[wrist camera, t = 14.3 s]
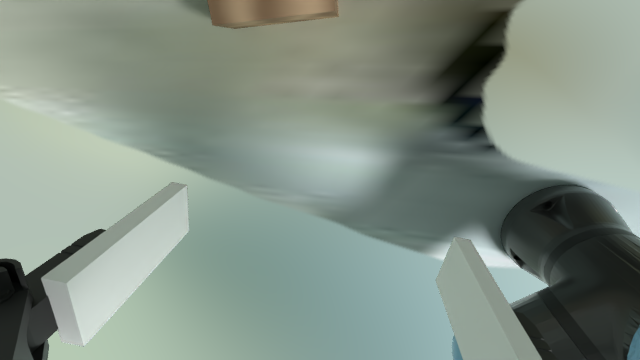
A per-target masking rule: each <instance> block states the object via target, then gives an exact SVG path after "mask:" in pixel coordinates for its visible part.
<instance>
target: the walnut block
mask: <svg viewBox="0 0 640 360" xmlns="http://www.w3.org/2000/svg"><path fill="white" fill-rule="evenodd" d="M207 1H208V6H209V10H210V15H211V20H212V25H214V26H220V27H227V28H233V29H237V28H245V27H254V26H263V25H271V24H280V23H289V22H298V21H306V20H315V19H324V18H332V17H339V14H338V0H207Z"/></svg>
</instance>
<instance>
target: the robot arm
mask: <svg viewBox="0 0 640 360" xmlns="http://www.w3.org/2000/svg"><path fill="white" fill-rule="evenodd" d="M188 232H189V218H188V192H187V185H184V184H179V183H174V182H172V183H171V184H169V185H168V186H166V187H165V188H164V189H162V190H161V191H159V192H158V193H157V194H155V195H154V196H153V197H151V198H150V199H148V200H147V201H146V202H144V203H143V204H142V205H140V206H139V207H137V208H136V209H135V210H133V211H132V212H131V213H129V214H128V215H126V216H125V217H124V218H122V219H121V220H120V221H118V222H117V223H115V224H114V225H113V226H111V227H110V228H109V229H107V230H103V229H99V230H96V231H94V232H91V233H89V234H86V235H84V236H83V237H81V238H80V239H78V240H77V241H75V242H74V243H73V244H72V245H71V246H68V247H67V248H66V249H64V250H62V251H61V253H58V254H57V255H55V256H54V257H52V258H51V259H49V260H48V261H46V262H45V263H44V264H42V265H41V266H39V267H38V268H36V269H35V270H33V271H32V272H30V273H29V274H28V275H26V276H25V274H24V272H23V269H22V266H21V263H20V262H18V261H17V260H13V259H0V360H47V358H48V350H49V344H48V340H47V339H48V338H49V337H50V336H51V335H52V334H53V333H54V332H55V331H57V330H58V332H59V335H60V339H61V341H62V342H65V343H69V344H74V345H79V346H83V347H84V346H85V345H86V344H87V343H88V342H89V341H90V340H91V338H92V337H93V336H94V335H95V334H96V333H97V332H98V330H99V329H100V328H101V327H102V326H103V325H104V324H105V323H106V322H107V321H108V320H109V318H111V316H112V315H113V314H114V313H115V312H116V311H117V310H118V309H119V308H120V307H121V305H122V304H123V303H124V302H125V301H126V300H127V299H128V298H129V297H130V296H131V294H132V293H133V292H134V291H135V290H136V289H137V288H138V287H139V286H140V284H141V283H142V282H143V281H144V280H145V279H146V278H147V277H148V276H149V274H151V272H152V271H153V270H154V269H155V268H156V267H157V266H158V265H159V264H160V262H161V261H162V260H163V259H164V258H165V257H166V256H167V255H168V254H169V253H170V251H171V250H172V249H173V248H174V247H175V246H176V245H177V244H178V243H179V242H180V241H181V239H182V238H183V237H184V236H185V235H186V234H187V233H188ZM501 240H502V244H503V247H504V249H505V251H506V252H507V253H508V255H509V256H510V257H511V259H512V260H513V261H514V262H515V263H516V264H517V265H518V266H519V267H521V268H522V269H524V270H525V271H527V272H529V273H530V274H532V275H533V276H535V277H536V278H538V279H540V280H541V281H543V282H544V283H546V284H548V285H549V287H547V288H545V289H543V290H540V291H538V292H535V293H533V294H531V295H529V296H526V297H524V298H522V299H520V300H518V301H515V302H513V303H511V304H509V303H508V302H507V300H506V298H505V297H504V295H503V293H502V292H501V290H500V288H499V287H498V285H497V284H496V282H495V280H494V279H493V277H492V275H491V273H490V272H489V270H488V268H487V267H486V265H485V263H484V262H483V260H482V258H481V257H480V255H479V253H478V252H477V250H476V249H475V247H474V245H473V244H472V242H471V240H468V239H463V238H458V237H454V238H453V241H452V243H451V245H450V248H449V250H448V252H447V255H446V257H445V260H444V262H443V264H442V267H441V269H440V271H439V274H438V276H437V278H436V283H437V286H438V288H439V291H440V294H441V297H442V300H443V303H444V306H445V309H446V312H447V315H448V317H449V320H450V323H451V326H452V329H453V332H454V337H453V342H452V354H453V360H640V238H639V237H637V236H636V235H634V234H633V233H632V231H631V230H630V228H629V227H628V226H627V224H626V223H625V221H624V220H623V219H622V217H621V216H620V214H619V213H618V211H617V210H616V208H615V207H614V206H613V205H612V204H611V203H610V202H609V201H608V200H606V199H605V198H603V197H602V196H600V195H598V194H597V193H595V192H593V191H591V190H589V189H587V188H584V187H580V186H572V185H562V186H554V187H550V188H546V189H543V190H540V191H538V192H535V193H533V194H531V195H529V196H528V197H526V198H525V199H523V200H522V201H521V202H519V203H518V204H517V205H516V206H515V207H514V208H513V209H512V210H511V211H510V213H509V214H508V215H507V217H506V219H505V221H504V223H503V226H502V230H501Z"/></svg>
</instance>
